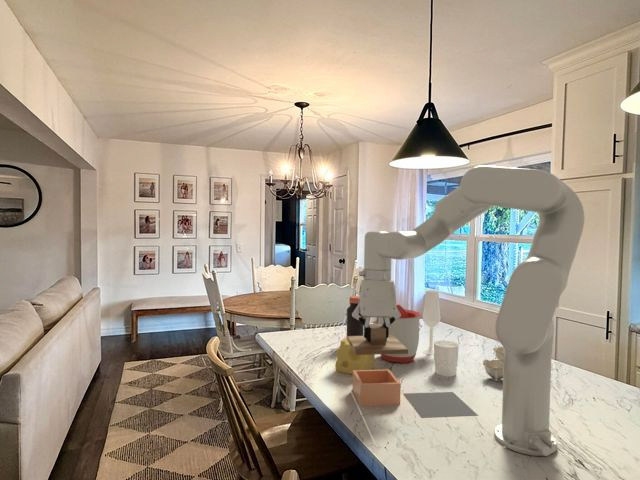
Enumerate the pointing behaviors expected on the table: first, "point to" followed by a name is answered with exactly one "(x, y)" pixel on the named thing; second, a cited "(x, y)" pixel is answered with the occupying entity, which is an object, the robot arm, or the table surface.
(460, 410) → the mat
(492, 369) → the chinaware
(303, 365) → the table surface
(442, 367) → the white cup
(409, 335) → the citrus juicer
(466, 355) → the table surface
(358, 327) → the bottle
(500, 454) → the table surface
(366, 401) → the salmon orange open box
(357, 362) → the cheese
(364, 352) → the lid
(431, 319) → the champagne flute
